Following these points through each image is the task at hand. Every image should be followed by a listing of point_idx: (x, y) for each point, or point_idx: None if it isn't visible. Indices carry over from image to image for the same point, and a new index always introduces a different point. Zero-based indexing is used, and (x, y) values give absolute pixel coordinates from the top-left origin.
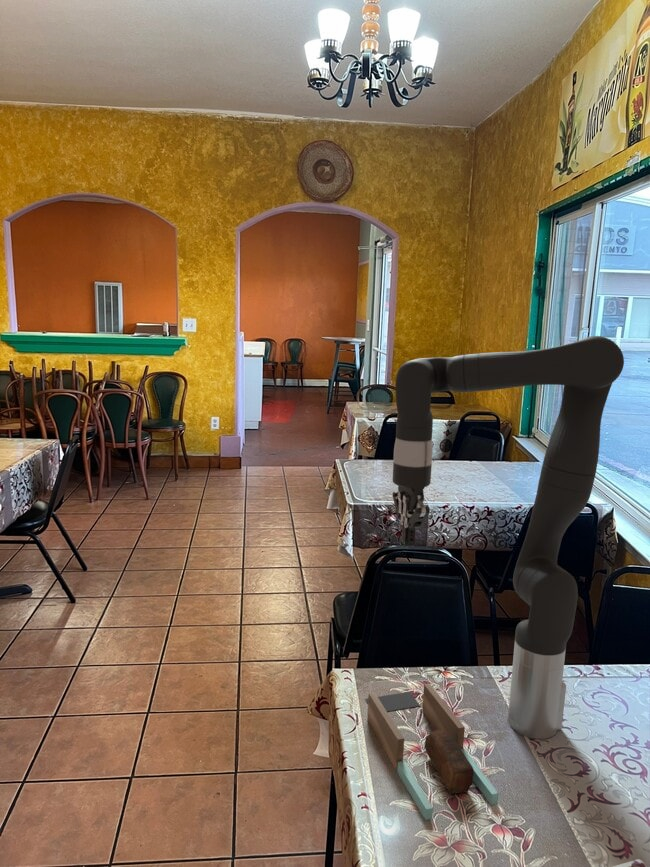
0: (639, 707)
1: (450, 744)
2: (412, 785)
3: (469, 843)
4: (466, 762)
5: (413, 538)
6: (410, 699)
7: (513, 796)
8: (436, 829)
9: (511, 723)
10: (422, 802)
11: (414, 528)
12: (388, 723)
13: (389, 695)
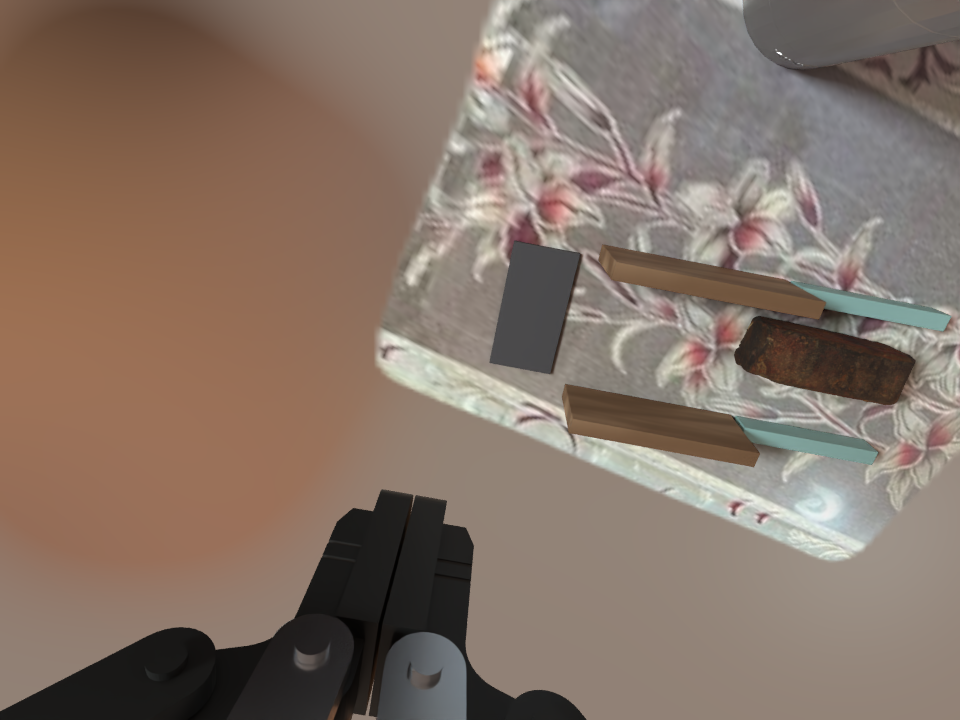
0: None
1: (831, 362)
2: (809, 452)
3: (949, 418)
4: (895, 365)
5: (469, 574)
6: (545, 261)
7: (945, 261)
8: (885, 447)
9: (792, 66)
10: (855, 461)
11: (467, 670)
12: (695, 454)
13: (504, 301)
